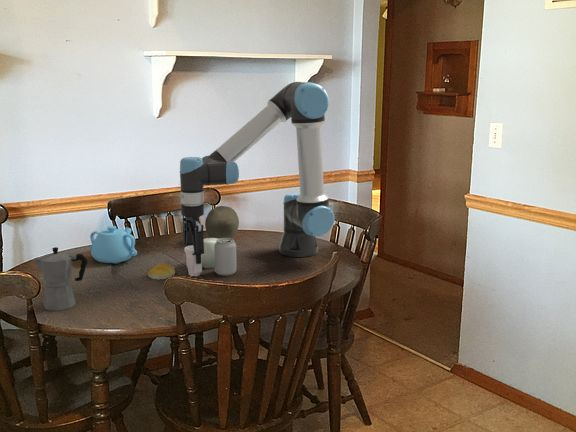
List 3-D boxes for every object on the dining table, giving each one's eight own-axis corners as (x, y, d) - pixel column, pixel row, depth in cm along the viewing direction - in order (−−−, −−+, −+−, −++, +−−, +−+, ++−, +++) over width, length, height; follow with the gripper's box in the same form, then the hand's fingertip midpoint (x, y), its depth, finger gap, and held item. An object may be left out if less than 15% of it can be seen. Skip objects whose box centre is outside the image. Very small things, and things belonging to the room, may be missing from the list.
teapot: (78, 263, 228) (75, 229, 225) (109, 248, 246) (107, 217, 243) (126, 268, 222) (124, 234, 219) (154, 253, 241) (152, 221, 238)
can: (233, 277, 214) (232, 243, 211) (211, 275, 215) (211, 242, 212) (239, 270, 221) (238, 237, 218) (218, 269, 222) (218, 236, 219)
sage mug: (220, 259, 233) (220, 236, 231) (230, 265, 227) (230, 241, 225) (196, 263, 228) (195, 239, 226) (206, 269, 221) (205, 245, 219)
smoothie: (200, 278, 212) (199, 238, 209) (182, 277, 213) (181, 237, 210) (206, 272, 218) (205, 233, 215) (188, 271, 219) (187, 232, 216)
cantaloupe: (197, 243, 253) (196, 207, 250) (220, 236, 265) (219, 201, 261) (225, 249, 246) (224, 212, 242) (246, 241, 257) (246, 205, 254)
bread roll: (144, 279, 212) (143, 267, 211) (158, 271, 220) (158, 260, 219) (165, 282, 209) (164, 270, 208) (179, 273, 217) (178, 262, 216)
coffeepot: (33, 312, 182) (27, 253, 178) (39, 301, 191) (34, 244, 187) (88, 309, 185) (84, 250, 180) (92, 298, 194) (88, 241, 189)
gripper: (172, 199, 216) (174, 263, 222) (191, 210, 200) (193, 279, 205) (193, 197, 220) (194, 260, 225) (213, 208, 203) (214, 276, 209)
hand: (194, 269), depth 215 cm, fingers closed on smoothie, 6 cm apart
